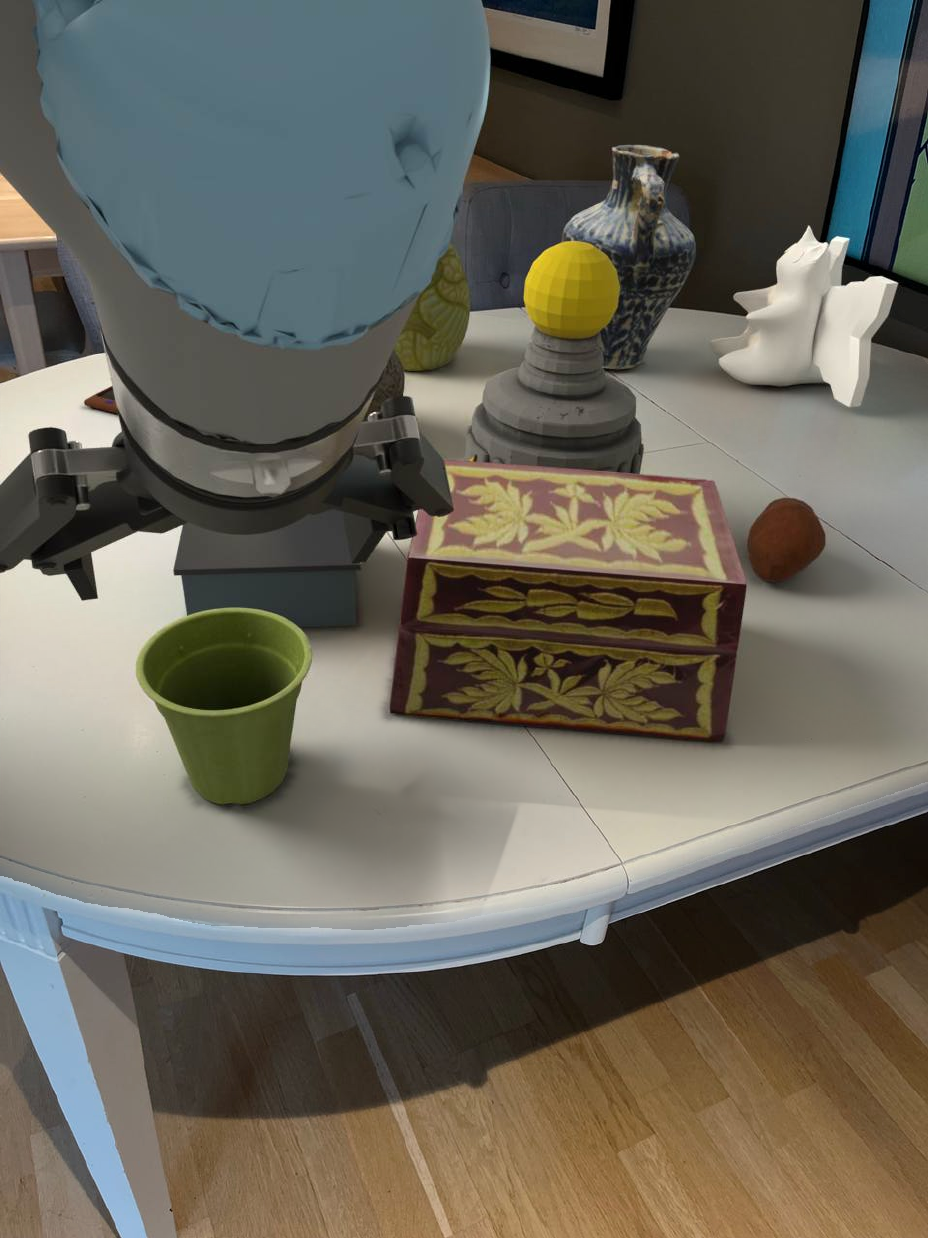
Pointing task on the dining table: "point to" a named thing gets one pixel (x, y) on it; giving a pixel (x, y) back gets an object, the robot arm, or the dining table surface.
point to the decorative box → (572, 603)
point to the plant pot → (228, 696)
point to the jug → (637, 248)
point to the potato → (784, 539)
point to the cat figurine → (809, 324)
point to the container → (272, 571)
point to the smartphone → (103, 400)
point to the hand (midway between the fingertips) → (225, 555)
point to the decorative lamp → (562, 376)
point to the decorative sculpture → (437, 318)
